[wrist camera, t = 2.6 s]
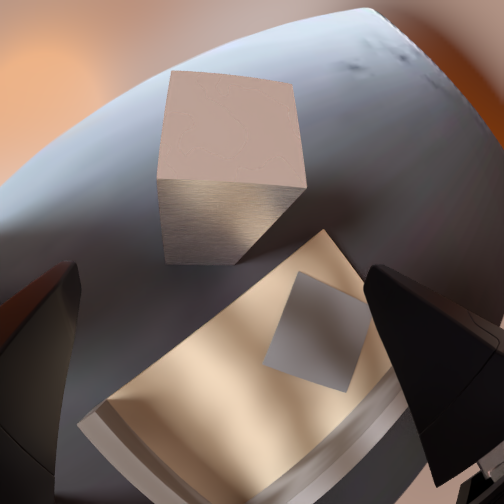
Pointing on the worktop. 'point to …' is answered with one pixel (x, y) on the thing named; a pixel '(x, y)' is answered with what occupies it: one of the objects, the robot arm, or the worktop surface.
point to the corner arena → (259, 394)
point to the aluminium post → (225, 164)
